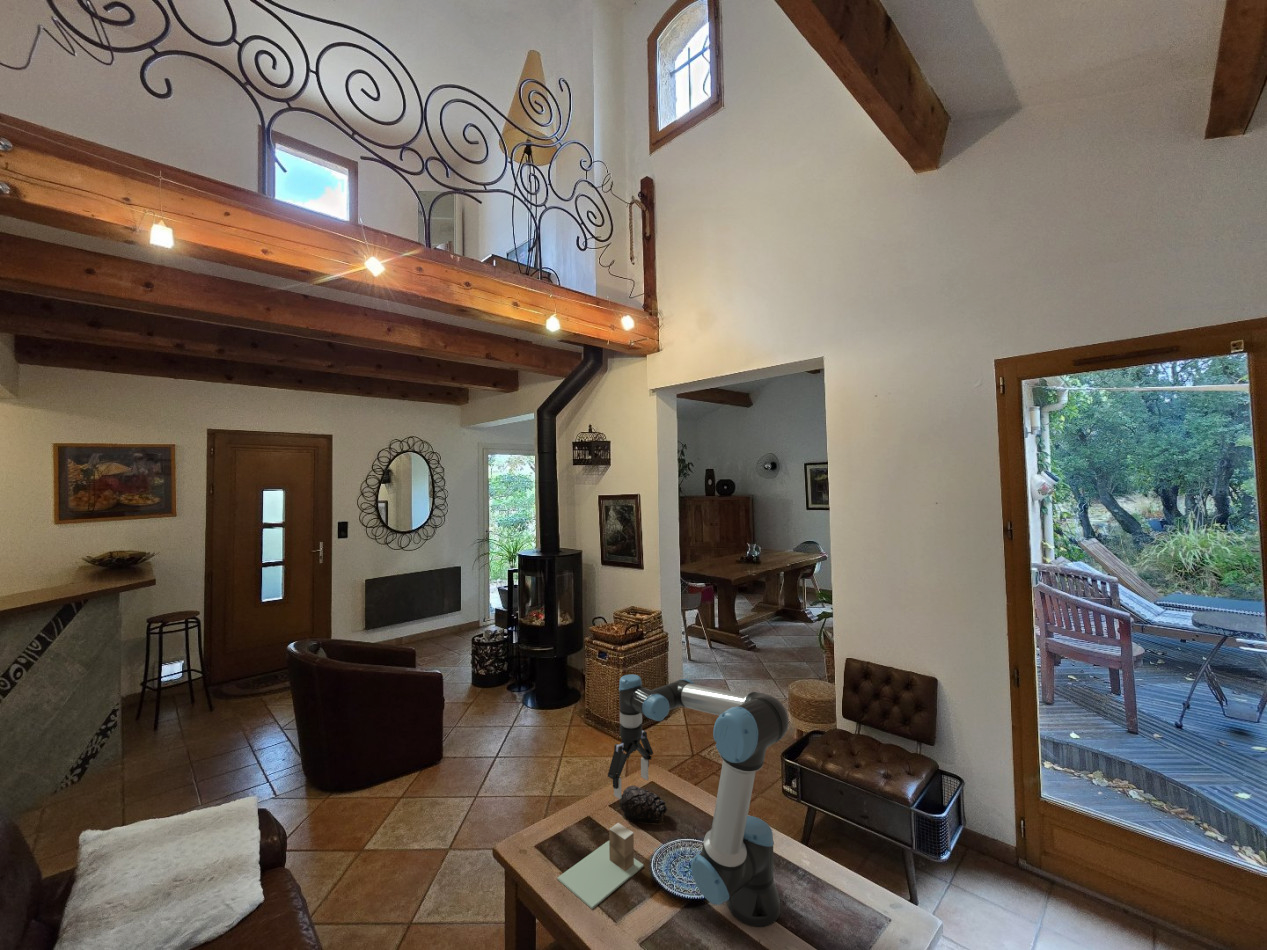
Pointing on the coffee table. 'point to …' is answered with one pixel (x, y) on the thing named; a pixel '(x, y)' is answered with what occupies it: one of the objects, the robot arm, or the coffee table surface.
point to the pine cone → (642, 806)
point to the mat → (596, 876)
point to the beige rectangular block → (621, 846)
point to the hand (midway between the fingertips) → (631, 787)
